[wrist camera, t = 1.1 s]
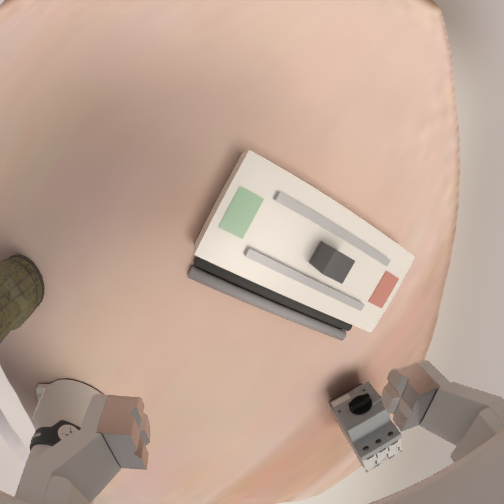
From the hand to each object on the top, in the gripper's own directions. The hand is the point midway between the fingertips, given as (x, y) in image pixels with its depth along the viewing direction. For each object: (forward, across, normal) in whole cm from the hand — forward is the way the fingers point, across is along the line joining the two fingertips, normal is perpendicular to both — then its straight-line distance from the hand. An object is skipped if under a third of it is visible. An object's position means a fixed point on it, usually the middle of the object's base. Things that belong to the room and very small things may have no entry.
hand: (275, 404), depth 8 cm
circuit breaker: (+31, -23, +34) cm, 51 cm away
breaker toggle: (+26, -12, +4) cm, 28 cm away
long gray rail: (+31, -8, +12) cm, 34 cm away
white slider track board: (+31, -12, +4) cm, 33 cm away
